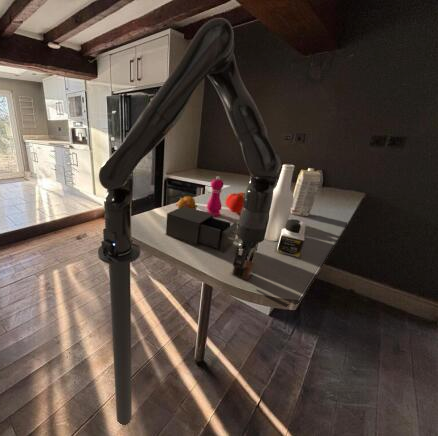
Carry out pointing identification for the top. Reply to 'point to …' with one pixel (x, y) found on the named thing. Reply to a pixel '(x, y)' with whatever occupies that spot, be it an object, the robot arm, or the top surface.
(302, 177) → the juice carton
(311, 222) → the top surface
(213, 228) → the drawer
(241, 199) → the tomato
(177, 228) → the cabinet
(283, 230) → the medicine bottle
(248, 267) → the block
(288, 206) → the alcohol
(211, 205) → the pepper mill
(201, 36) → the robot arm
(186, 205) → the orange rounded lump
